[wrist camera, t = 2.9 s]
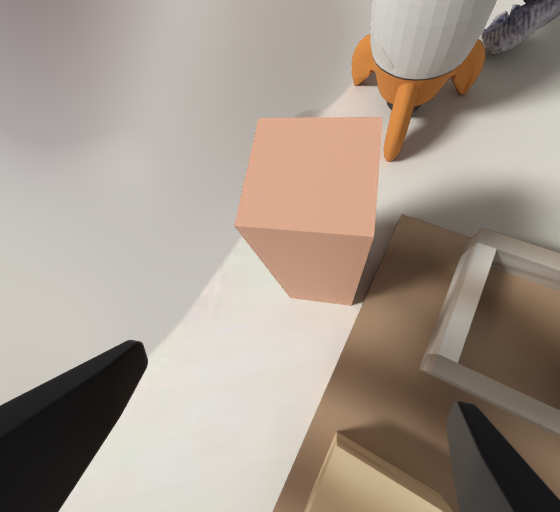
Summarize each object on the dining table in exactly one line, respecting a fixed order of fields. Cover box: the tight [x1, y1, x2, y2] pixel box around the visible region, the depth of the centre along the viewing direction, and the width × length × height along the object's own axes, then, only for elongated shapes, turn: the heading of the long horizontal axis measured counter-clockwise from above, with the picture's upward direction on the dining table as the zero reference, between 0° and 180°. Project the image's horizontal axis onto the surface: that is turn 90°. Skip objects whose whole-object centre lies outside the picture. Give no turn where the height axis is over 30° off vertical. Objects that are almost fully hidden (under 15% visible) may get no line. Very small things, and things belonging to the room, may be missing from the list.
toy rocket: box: [352, 0, 497, 162], centre depth 19 cm, size 10×11×15 cm
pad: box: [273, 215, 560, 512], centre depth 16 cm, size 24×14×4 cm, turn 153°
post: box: [235, 117, 382, 306], centre depth 16 cm, size 4×4×13 cm
